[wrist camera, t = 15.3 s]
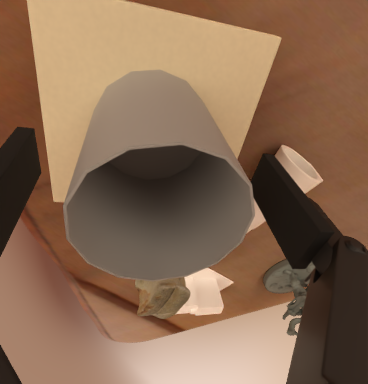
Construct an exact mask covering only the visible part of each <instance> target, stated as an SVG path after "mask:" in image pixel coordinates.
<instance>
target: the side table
mask: <svg viewBox="0 0 368 384" xmlns="http://www.w3.org/2000/svg"><path fill="white" fill-rule="evenodd" d="M27 5H28V12H29V20H30V27H31V35H32V42H33V50H34V57H35V65H36V72H37V80H38V88H39V95H40V103H41V110H42V118H43V125H44V133H45V140H46V148H47V155H48V163H49V170H50V178H51V186H52V193H53V201H54V202H64V201H65V198H66V195H67V192H68V189H69V186H70V183H71V180H72V176H73V173H74V170H75V167H76V164H77V161H78V158H79V155H80V152H81V149H82V146H83V142H84V139H85V136H86V133H87V130H88V127H89V124H90V121H91V118H92V115H93V112H94V109H95V107H96V105H97V104H98V102H99V100H100V98H101V96H102V95H103V93H104V91H105V89H106V87H107V86H108V85H110V84H112V83H113V82H115V81H117V80H118V79H120V78H121V77H123V76H125V75H126V74H128V73H129V72H131V71H146V70H163V71H165V72H167V73H169V74H172V75H174V76H176V77H179V78H181V79H183V80H185V81H187V82H188V83H189V85H190V86H191V87H192V88H193V90H194V91H195V92H196V93H197V95H198V96H199V97H200V98H201V100H202V101H203V102H204V104H205V106H206V107H207V109H208V111H209V112H210V114H211V116H212V117H213V119H214V121H215V123H216V124H217V126H218V128H219V129H220V131H221V133H222V134H223V136H224V138H225V140H226V141H227V143H228V145H229V146H230V148H231V150H232V151H233V153H234V155H235V157H236V158H237V159H238V156H239V153H240V151H241V148H242V145H243V143H244V140H245V137H246V134H247V132H248V129H249V126H250V123H251V121H252V118H253V115H254V113H255V110H256V107H257V104H258V102H259V99H260V96H261V93H262V91H263V88H264V85H265V83H266V80H267V77H268V74H269V72H270V69H271V66H272V64H273V61H274V58H275V55H276V53H277V50H278V47H279V44H280V42H281V37H278V36H275V35H272V34H268V33H263V32H259V31H255V30H250V29H246V28H242V27H237V26H233V25H229V24H225V23H220V22H216V21H212V20H207V19H203V18H199V17H194V16H190V15H186V14H181V13H177V12H173V11H169V10H164V9H160V8H156V7H151V6H147V5H143V4H138V3H134V2H130V1H126V0H27Z"/></svg>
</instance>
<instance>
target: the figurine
mask: <svg viewBox="0 0 368 384" xmlns="http://www.w3.org/2000/svg"><path fill="white" fill-rule="evenodd" d="M314 268H315V266H314V264H313V263H312V262H311V263H310V264H309V265H308V267H307V268H306V269H292V268H291V266H290V264H289V262H288V260H287V259H286V260H284V261H281V262H279V263H277V264H276V265H274V266H273V267H271V268H270V269H269V270H268V271H267V272H266V274H265V276H264V278H263V283H264V285H265V287H266V289H267V290H268V291H270V292H272V293H288V292H292V291H293V292H294V296H295V299H294V300H293V301H292V302H291V303H289V304H288V306H287V307H288V310H287V312H286V313H285V314H284V315H283V319H285V318H286V317H287V316H288V315H292V316H296V315H302V312H303V308H304V304H305V299H306V295H307V291H308V286H307V285H308V284H309V282H310V280H308V281H307V282H305V279H306V278H307V277H308V275H309V274H310V273H311V272H312V271H313V269H314ZM303 287H307V288H306V289H304V288H303ZM295 300H296V301H295ZM294 301H295V302H294ZM293 302H294V303H293ZM300 308H301V309H300ZM300 321H301V318H295V319H292V320H291V321H290V323H289V328H288V331H287V334H288V335H297V334H298V333H297V332H296V331H295V329H294V328H295V325H296V324H298V323H300Z"/></svg>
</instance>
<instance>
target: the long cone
mask: <svg viewBox="0 0 368 384" xmlns="http://www.w3.org/2000/svg"><path fill="white" fill-rule="evenodd" d="M275 157H276V158H277V160H278V161H279V162H280V163H281V165H282V166H283V167H284V168H285V170H286V171H287V172H288V173H289V175H290V176H291V177H292V178H293V180H294V181H295V182H296V183H297V185H298V186H299V187H300V188H301V190H302V191H303V192H304V194H305V193H307V192H308V191H310V190H311V189H312V188H314V187H315V186H317V185H318V184H320V183H321V182H322V181H323V179H322V178H321V177H320V175H319V174H318V173H317V171H316V170H315V169H314V167H313V166H312V165H311V164H310V163H309V162H307V161H306V160H305V159H304V158H303V157H302V156H301V155H299V154H298V153H297V152H296V151H294V150H293V149H291V148H290V147H288V146H285V145H282V146H281V147H280V148H279V150H278V151H277V153H276V154H275ZM253 199H254V198H253ZM254 208H255V217H254V219H253V221H252V223H251V225H250V227H249V229H248V231H247V233H248V232H249V231H250V230H252V229H255V228H256V227H258V226H259V225H261V224H262V223H263V222H265V221H266V220H265V218H264V216H263V214H262V212H261V211H260V209H259V207H258V205H257V203H256V201H255V200H254Z"/></svg>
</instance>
